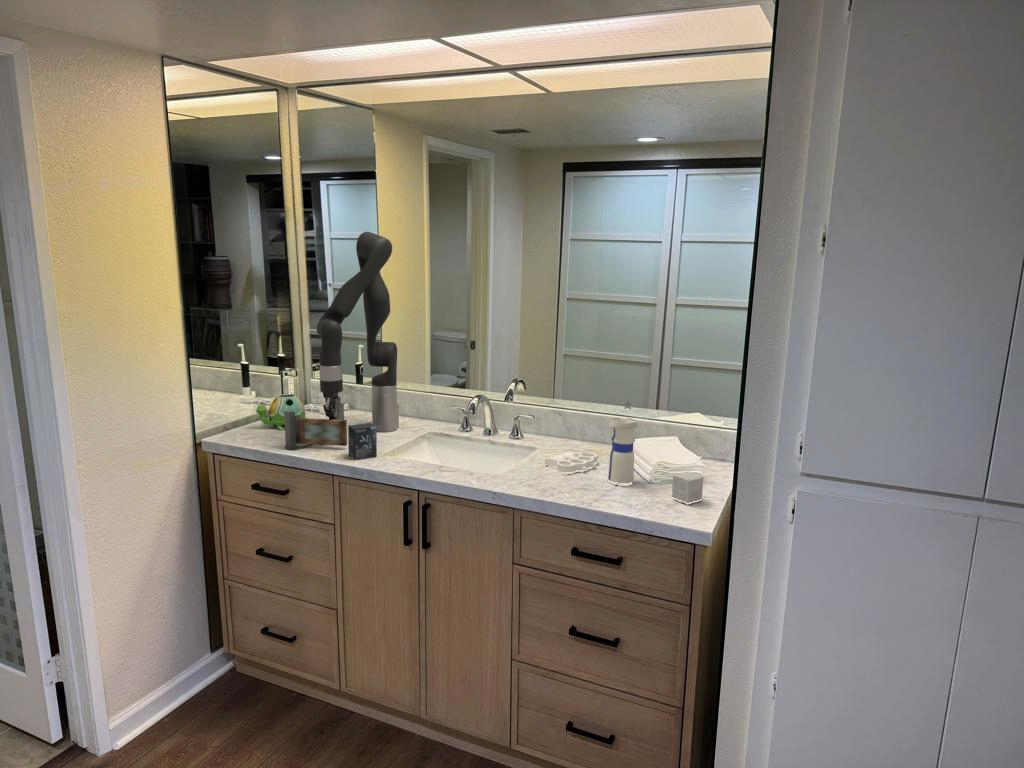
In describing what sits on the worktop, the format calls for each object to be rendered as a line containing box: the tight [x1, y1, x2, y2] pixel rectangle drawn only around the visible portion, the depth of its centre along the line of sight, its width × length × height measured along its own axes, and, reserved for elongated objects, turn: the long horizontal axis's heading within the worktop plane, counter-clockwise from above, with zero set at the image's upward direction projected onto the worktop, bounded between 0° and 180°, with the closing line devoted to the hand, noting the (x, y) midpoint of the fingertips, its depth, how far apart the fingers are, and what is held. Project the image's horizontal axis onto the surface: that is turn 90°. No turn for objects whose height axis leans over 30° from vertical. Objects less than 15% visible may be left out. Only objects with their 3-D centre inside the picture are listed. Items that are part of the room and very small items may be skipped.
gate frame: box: [284, 402, 345, 451], centre depth 246 cm, size 24×5×13 cm, turn 146°
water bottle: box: [607, 398, 638, 483], centre depth 210 cm, size 8×8×25 cm
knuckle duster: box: [543, 451, 599, 472], centre depth 226 cm, size 3×18×15 cm
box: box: [347, 422, 378, 461], centre depth 231 cm, size 8×6×11 cm
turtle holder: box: [255, 393, 307, 431], centre depth 265 cm, size 12×18×12 cm
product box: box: [671, 471, 704, 503], centre depth 197 cm, size 6×6×7 cm
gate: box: [295, 415, 348, 447], centre depth 239 cm, size 18×2×10 cm, turn 86°
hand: (333, 427), depth 242 cm, fingers closed
